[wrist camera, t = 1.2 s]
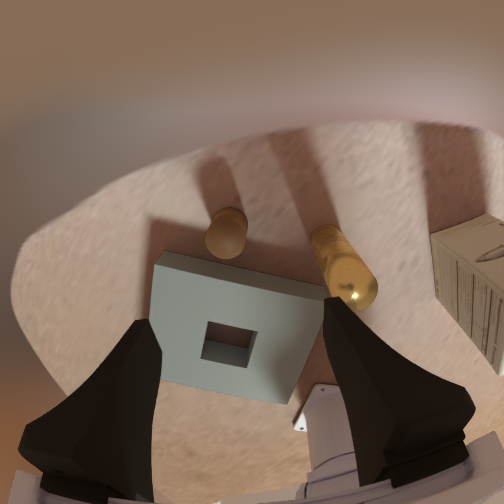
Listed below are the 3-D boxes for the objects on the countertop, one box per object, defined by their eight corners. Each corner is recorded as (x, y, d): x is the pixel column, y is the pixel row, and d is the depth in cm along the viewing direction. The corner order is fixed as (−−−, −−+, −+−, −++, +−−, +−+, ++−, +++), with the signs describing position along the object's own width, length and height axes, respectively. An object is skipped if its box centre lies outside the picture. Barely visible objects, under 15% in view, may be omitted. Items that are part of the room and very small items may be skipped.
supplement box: (486, 210, 25) (577, 259, 13) (488, 276, 27) (561, 340, 15) (426, 231, 26) (513, 297, 14) (433, 300, 28) (499, 381, 16)
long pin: (347, 229, 26) (384, 275, 18) (337, 260, 27) (367, 316, 19) (315, 221, 26) (341, 264, 17) (306, 252, 27) (325, 308, 18)
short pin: (251, 211, 26) (249, 225, 22) (243, 244, 27) (240, 262, 23) (216, 203, 26) (209, 216, 22) (210, 236, 26) (201, 254, 23)
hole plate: (323, 286, 28) (330, 303, 25) (285, 384, 32) (286, 404, 29) (164, 250, 27) (154, 264, 24) (153, 356, 31) (145, 375, 28)
